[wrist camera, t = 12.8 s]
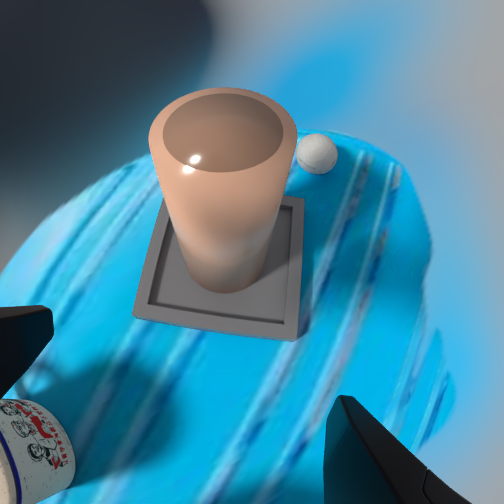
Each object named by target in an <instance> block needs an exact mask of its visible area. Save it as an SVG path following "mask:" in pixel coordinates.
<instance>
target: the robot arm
mask: <svg viewBox="0 0 504 504" xmlns="http://www.w3.org/2000/svg"><path fill="white" fill-rule="evenodd" d="M53 335H54V325H53V314H52V311H51V309H49V308H47V307H45V306H43V305H32V306H16V307H0V400H1V398H2V397H3V396H4V395H5V394H6V393H7V392H8V390H9V389H10V388H11V387H12V386H13V385H14V384H15V383H16V382H17V380H18V379H19V378H20V377H21V376H22V375H23V374H24V373H25V372H26V371H27V369H28V368H29V367H30V366H31V365H32V363H33V362H34V361H35V360H36V358H37V357H38V356H39V354H40V353H41V352H42V350H43V349H44V348H45V347H46V345H47V344H48V343H49V342H50V340H51V339H52V337H53ZM323 478H324V504H472V503H470V502H469V501H467V500H466V499H465V498H463V497H462V496H460V495H459V494H458V493H456V492H455V491H454V490H453V489H451V488H450V487H449V486H448V485H446V484H445V483H444V482H443V481H442V480H441V479H439V478H438V477H437V476H436V475H435V474H434V473H433V472H432V471H431V470H429V469H428V470H427V467H426V466H425V465H424V464H423V463H422V462H421V461H420V460H418V459H417V458H416V457H415V456H414V455H413V454H412V453H411V452H410V451H409V450H408V449H407V448H406V447H405V446H404V445H403V444H402V443H401V442H399V441H398V440H397V439H396V438H395V437H394V436H393V435H392V434H391V433H390V432H389V431H388V430H387V429H386V428H385V427H384V426H383V425H382V424H381V423H380V422H379V421H378V420H377V419H376V418H375V417H373V416H372V415H371V414H370V413H369V412H368V411H367V410H366V409H365V408H364V407H363V406H362V405H361V404H360V403H359V402H358V401H357V400H356V399H355V398H354V397H352V396H346V395H339V396H338V397H337V398H336V400H335V402H334V404H333V407H332V409H331V411H330V413H329V415H328V418H327V422H326V436H325V450H324V463H323Z"/></svg>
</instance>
